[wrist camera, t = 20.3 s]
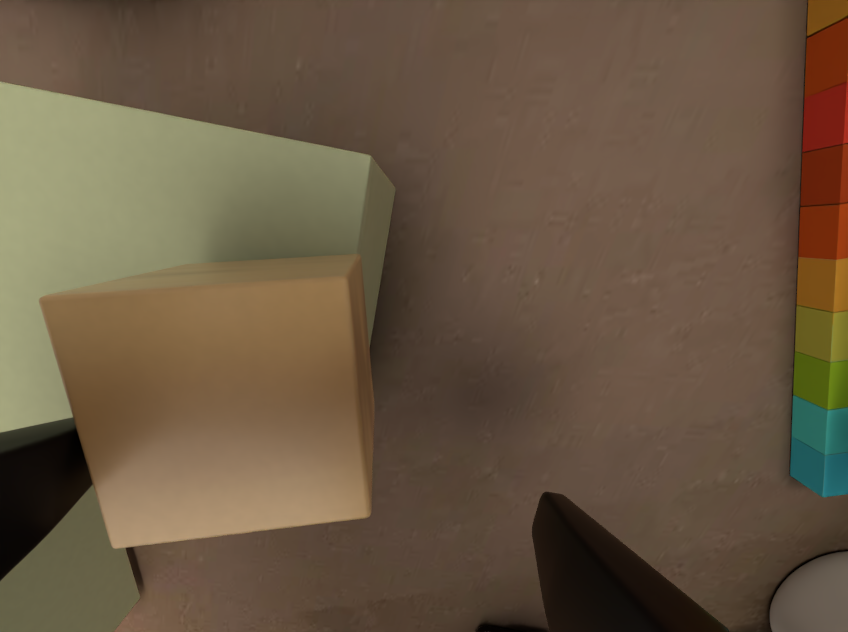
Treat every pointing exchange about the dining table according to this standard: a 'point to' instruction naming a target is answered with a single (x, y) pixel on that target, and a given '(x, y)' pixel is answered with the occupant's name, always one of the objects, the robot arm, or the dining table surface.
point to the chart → (823, 260)
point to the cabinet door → (70, 579)
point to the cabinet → (155, 214)
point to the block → (221, 396)
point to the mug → (813, 597)
